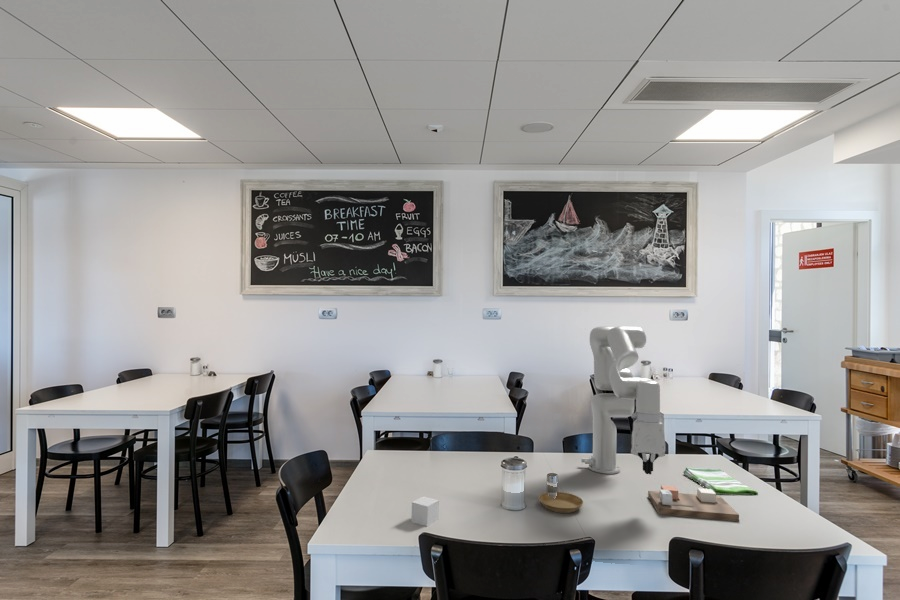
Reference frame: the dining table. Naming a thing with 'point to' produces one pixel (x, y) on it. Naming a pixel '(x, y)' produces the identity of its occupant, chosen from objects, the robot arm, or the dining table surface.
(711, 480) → the dish towel
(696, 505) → the switch board
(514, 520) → the dining table surface
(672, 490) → the terracotta button
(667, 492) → the slider knob
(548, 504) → the plant saucer
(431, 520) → the white cube
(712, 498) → the cream button
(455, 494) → the dining table surface
